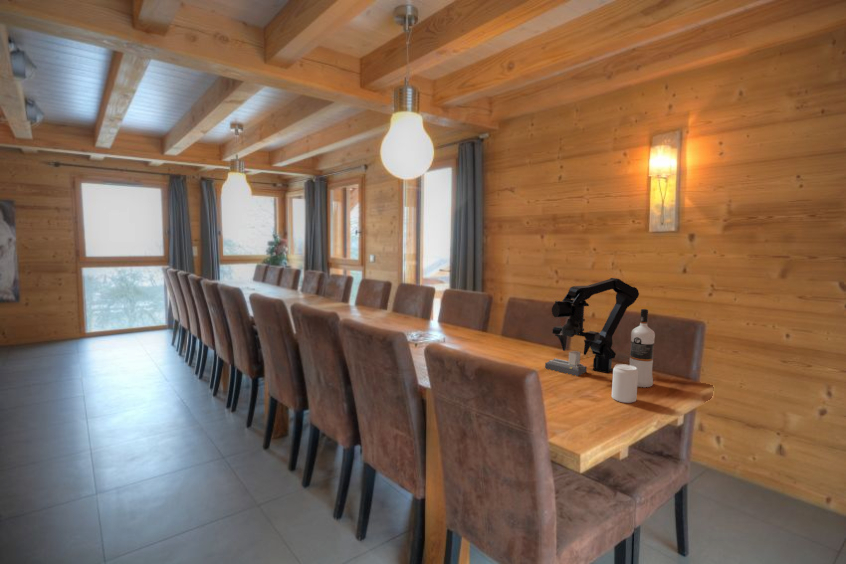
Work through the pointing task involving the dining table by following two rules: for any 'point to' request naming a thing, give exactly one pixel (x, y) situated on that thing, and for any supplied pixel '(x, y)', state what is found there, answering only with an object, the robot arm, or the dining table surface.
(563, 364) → the fader console
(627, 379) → the white cylinder
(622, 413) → the dining table surface
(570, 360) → the fader tab
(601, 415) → the dining table surface
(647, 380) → the vodka
